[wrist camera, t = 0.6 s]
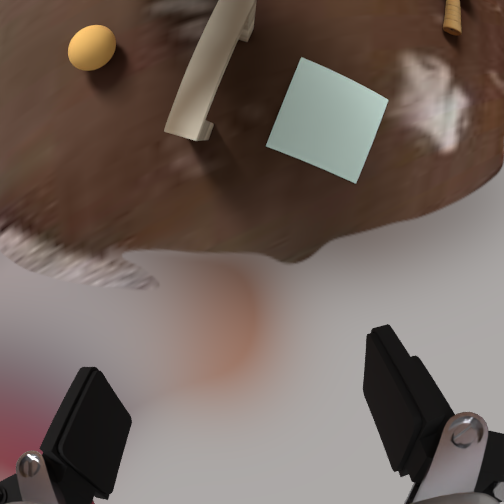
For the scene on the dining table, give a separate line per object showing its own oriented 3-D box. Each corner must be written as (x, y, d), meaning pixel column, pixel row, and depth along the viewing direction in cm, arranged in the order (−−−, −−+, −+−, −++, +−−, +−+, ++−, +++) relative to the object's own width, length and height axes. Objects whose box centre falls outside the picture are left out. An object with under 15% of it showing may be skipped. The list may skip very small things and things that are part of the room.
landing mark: (301, 57, 30) (301, 57, 30) (387, 100, 32) (388, 99, 32) (265, 146, 34) (265, 146, 34) (355, 183, 36) (355, 183, 36)
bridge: (184, 132, 33) (163, 131, 24) (229, 22, 28) (225, -13, 19) (208, 139, 33) (195, 141, 24) (253, 29, 28) (257, -5, 19)
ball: (92, 30, 27) (71, 18, 21) (130, 34, 28) (112, 20, 22) (76, 71, 29) (52, 64, 23) (112, 77, 30) (91, 69, 24)
